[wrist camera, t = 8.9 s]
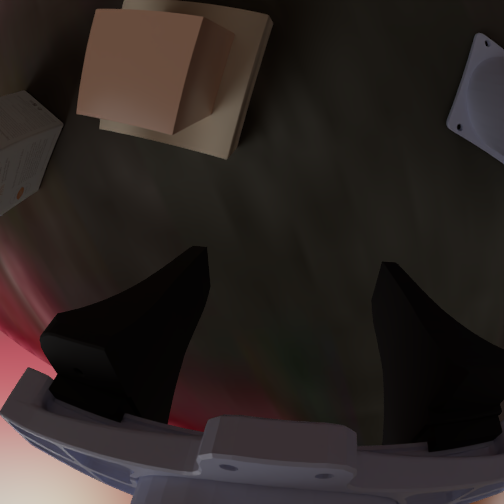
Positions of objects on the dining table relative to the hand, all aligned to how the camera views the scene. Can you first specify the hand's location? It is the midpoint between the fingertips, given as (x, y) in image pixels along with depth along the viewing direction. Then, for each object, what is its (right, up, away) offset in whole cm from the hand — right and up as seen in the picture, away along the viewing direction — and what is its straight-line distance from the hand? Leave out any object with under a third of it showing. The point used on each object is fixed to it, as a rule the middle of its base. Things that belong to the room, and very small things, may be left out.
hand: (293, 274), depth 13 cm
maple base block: (-6, +13, +6) cm, 15 cm away
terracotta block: (-6, +11, +3) cm, 13 cm away
